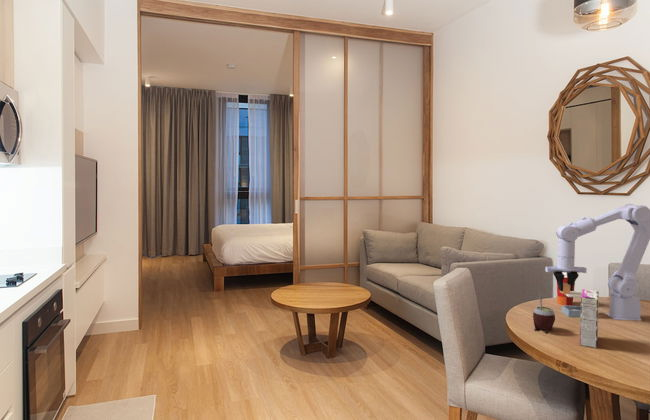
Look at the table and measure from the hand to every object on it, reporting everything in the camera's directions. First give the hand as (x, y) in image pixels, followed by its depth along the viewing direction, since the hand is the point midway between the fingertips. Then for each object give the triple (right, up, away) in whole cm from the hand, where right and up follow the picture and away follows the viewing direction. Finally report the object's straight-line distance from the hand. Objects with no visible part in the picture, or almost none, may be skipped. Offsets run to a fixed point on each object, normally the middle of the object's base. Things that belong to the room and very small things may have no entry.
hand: (565, 290), depth 172 cm
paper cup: (+8, -9, +15) cm, 19 cm away
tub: (+4, -10, 0) cm, 11 cm away
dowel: (+5, -9, +1) cm, 11 cm away
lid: (+4, -2, 0) cm, 5 cm away
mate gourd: (-17, -12, -16) cm, 26 cm away
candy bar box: (-7, -12, -27) cm, 30 cm away
